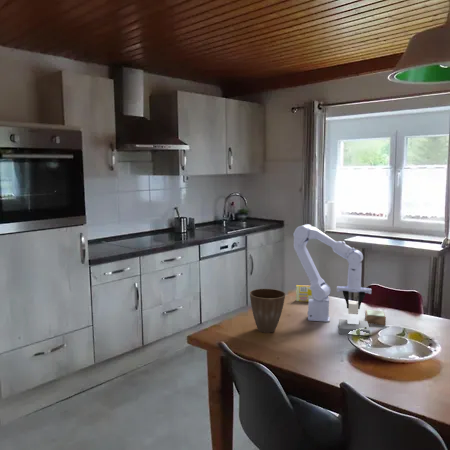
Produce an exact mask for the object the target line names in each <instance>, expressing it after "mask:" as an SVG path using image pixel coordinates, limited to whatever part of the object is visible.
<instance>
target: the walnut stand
mask: <svg viewBox="0 0 450 450" xmlns="http://www.w3.org/2000/svg"><path fill="white" fill-rule="evenodd" d="M364 314H365V315H364V319H365V320H364V321H368V325H378V326H379V325H380V326H386V323H387V322H386V319H387V316H386V314H385V312H384V310H373V309H366V310H365V311H364Z"/></svg>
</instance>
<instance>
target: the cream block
mask: <svg viewBox="0 0 450 450" xmlns="http://www.w3.org/2000/svg"><path fill="white" fill-rule="evenodd" d="M348 302H349V309H348V308H347V312H348V314H349V315H359V309H358V300H357V301H356V300H349V301H348Z"/></svg>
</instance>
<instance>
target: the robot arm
mask: <svg viewBox="0 0 450 450" xmlns="http://www.w3.org/2000/svg"><path fill="white" fill-rule="evenodd" d="M292 235H293V249H294V251H295V253H296V255H297V257H298V260H299V262H300V263H301V265H302V268H303V271H304V272H305V275H306V276H307V278H308V281H309V283H310V285H309V286H310V288H311V290H312V297H313V299H309V301H308V303H307V304H308V310H307V321H315V322H325V323H326V322H328V323H330V318H331V317H330V298H329V296H330V294H331V287H330V285H328V283H326V281H325V279H323V278H322V277H321V275H320V272H319V271H318V269H317V267H316V265H315V262H314V260H313V258H312V256H311V254H310V252H309V250H308V248H307V244H308V243H309V240H318V241H320V242H321V243H323V244H325V245H327V246H328V247H331V249H332V252H333V253H335V254H336V255H338V256H340V257H341V258H343V259H345V260H346V262H347V263H348V265H347V266H348V267H347V283H346V284H347V285H346V286H345V285H343V286H341V285H340V286H339V285H337V286H336V292H341V293H342V295H343V297H344V301H345V304H346V309H347V310H348V309H349V302H348V301H350V299H349V297H350V293H358V298H357V299H358V300H357V301H358V310H360V308H361V304H362V302H363V300H364V298H365V296H366V294H369V295H372V288H369V287H362V271H363V269H362V267H363V266H362V265H363V263H362V261H363V260H364V255H363V252H362V251H360V250H359V249H356V248H355V247H351V246H350V245H348V244H346V242H345V241H344V240H343V241H341V240H338V241H337V240H335V239H333V238H331V237H330V236H329V235H327V234H326V233H324V232H323V231H322V230H320V229H318V228H317V227H316V226H312V224H309V223H304V224H303V225H299V226H297V227H296V228H295V229H294V232H293V234H292Z"/></svg>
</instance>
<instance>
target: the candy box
mask: <svg viewBox="0 0 450 450" xmlns="http://www.w3.org/2000/svg"><path fill="white" fill-rule="evenodd" d="M295 287H296V288H295V290H296V291H295V292H296V293H295V295H296V297H295V301H296V302H309V299H313V297H312V290H311V288H310V285H307V284H306V285H298V284H296V285H295Z"/></svg>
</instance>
